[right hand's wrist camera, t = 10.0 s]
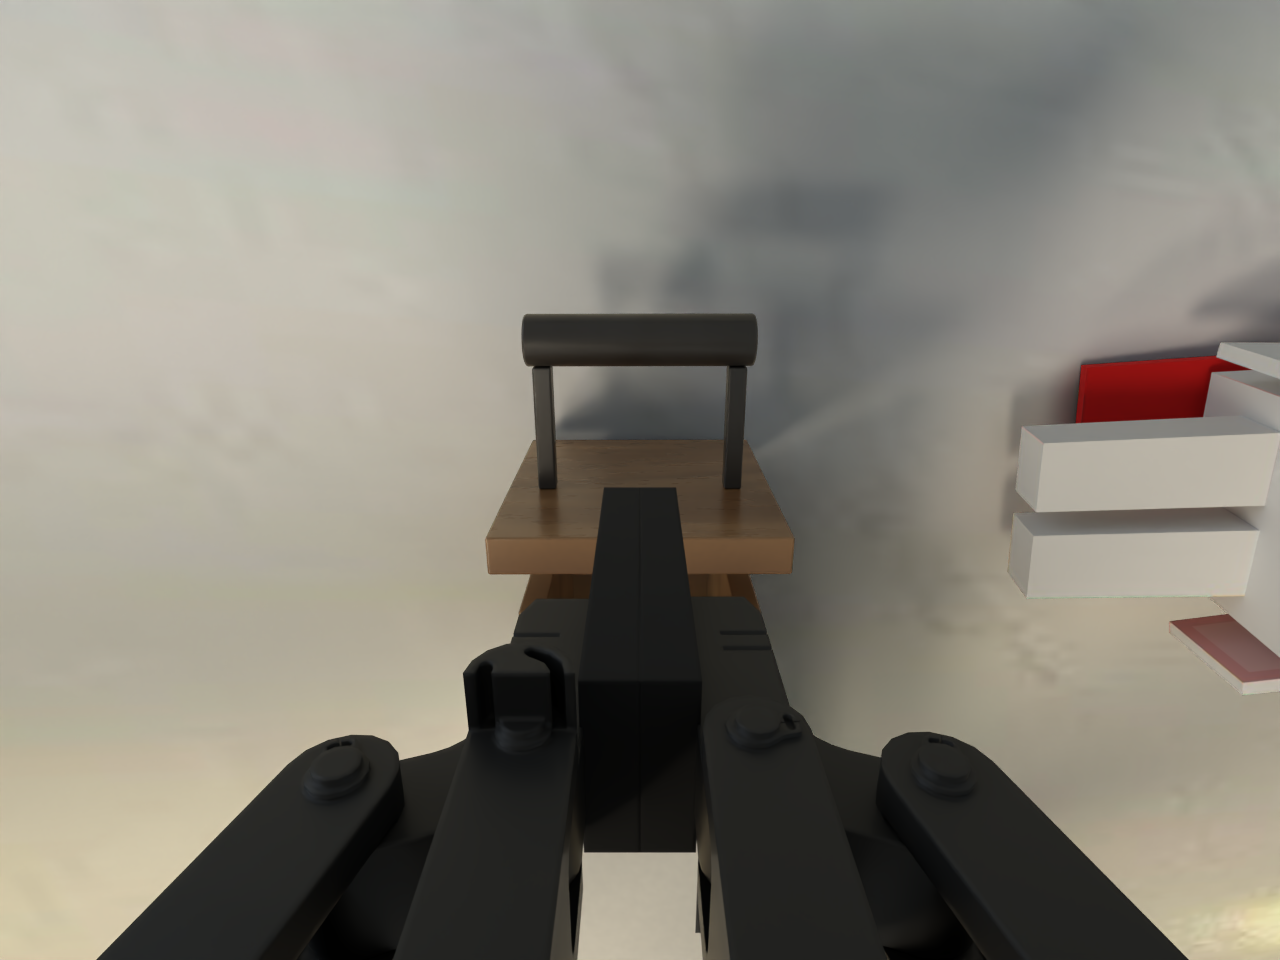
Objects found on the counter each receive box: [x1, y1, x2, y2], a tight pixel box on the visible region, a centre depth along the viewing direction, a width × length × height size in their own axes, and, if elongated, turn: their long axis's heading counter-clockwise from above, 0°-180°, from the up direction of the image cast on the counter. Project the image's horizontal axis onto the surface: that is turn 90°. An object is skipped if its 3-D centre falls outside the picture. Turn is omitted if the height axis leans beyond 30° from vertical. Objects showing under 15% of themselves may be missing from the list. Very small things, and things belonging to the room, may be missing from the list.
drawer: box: [485, 314, 795, 615], centre depth 27 cm, size 24×9×10 cm, turn 0°
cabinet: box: [577, 840, 703, 960], centre depth 32 cm, size 20×10×12 cm, turn 0°
